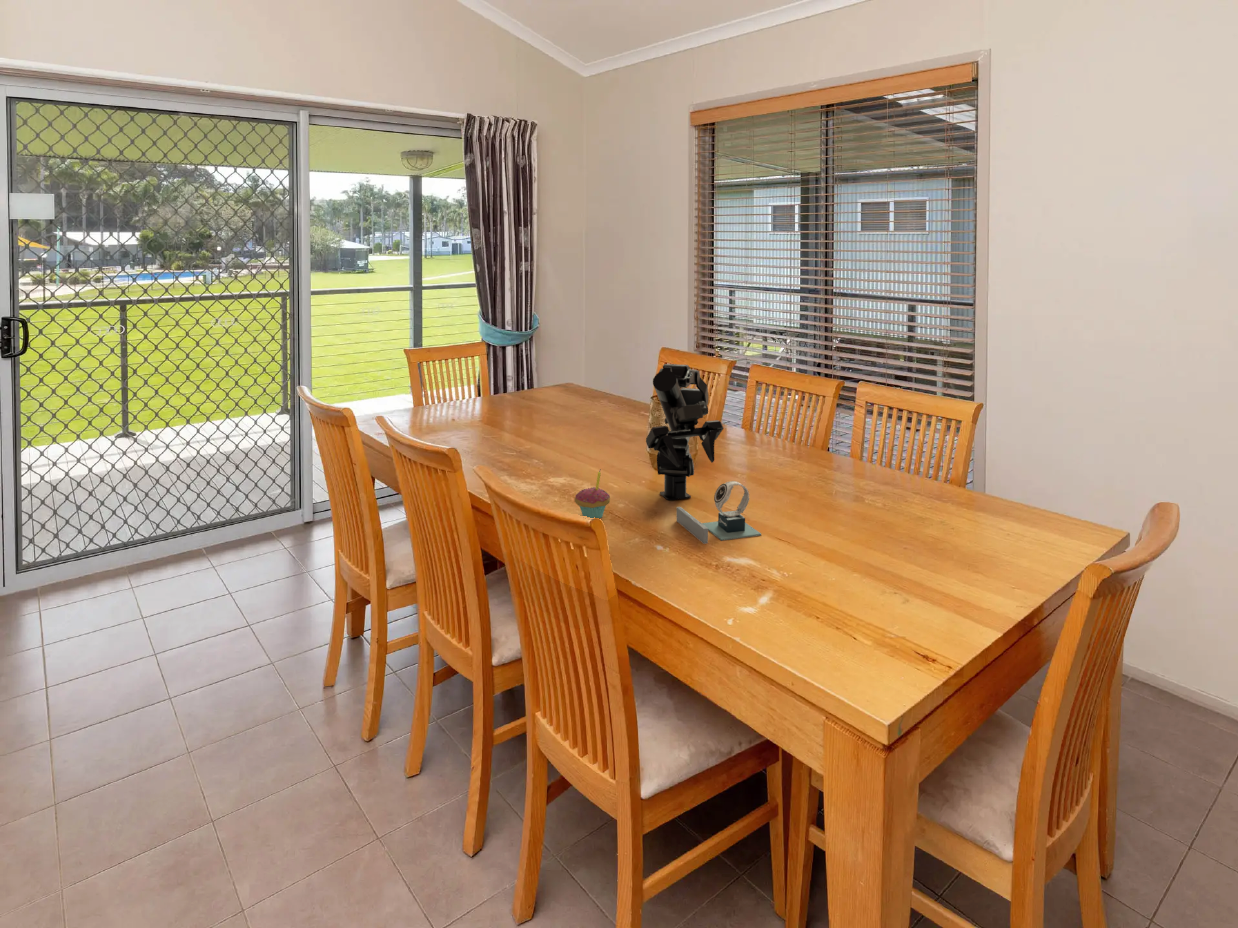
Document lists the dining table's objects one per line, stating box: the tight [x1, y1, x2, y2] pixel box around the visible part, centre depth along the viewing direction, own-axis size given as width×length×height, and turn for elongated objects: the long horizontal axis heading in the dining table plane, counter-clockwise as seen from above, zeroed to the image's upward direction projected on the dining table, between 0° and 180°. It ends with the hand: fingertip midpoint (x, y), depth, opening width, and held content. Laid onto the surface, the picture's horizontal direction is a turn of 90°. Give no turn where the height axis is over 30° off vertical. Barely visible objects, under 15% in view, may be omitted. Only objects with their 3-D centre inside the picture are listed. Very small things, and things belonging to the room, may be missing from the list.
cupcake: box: [574, 469, 611, 519], centre depth 200 cm, size 9×8×12 cm
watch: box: [713, 480, 750, 533], centre depth 191 cm, size 6×8×11 cm
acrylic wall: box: [675, 506, 709, 545], centre depth 191 cm, size 16×1×4 cm, turn 19°
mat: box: [701, 520, 762, 542], centre depth 192 cm, size 11×10×1 cm
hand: (696, 463), depth 197 cm, fingers open, 9 cm apart
